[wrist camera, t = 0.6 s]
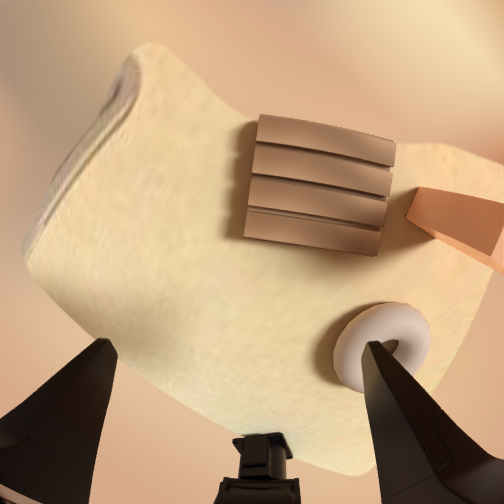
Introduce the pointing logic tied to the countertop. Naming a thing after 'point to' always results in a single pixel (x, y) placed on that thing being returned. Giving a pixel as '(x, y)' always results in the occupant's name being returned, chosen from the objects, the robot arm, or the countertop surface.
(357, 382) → the donut
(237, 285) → the countertop surface
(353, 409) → the countertop surface
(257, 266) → the countertop surface
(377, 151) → the stacked wooden slats
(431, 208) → the clay bar
